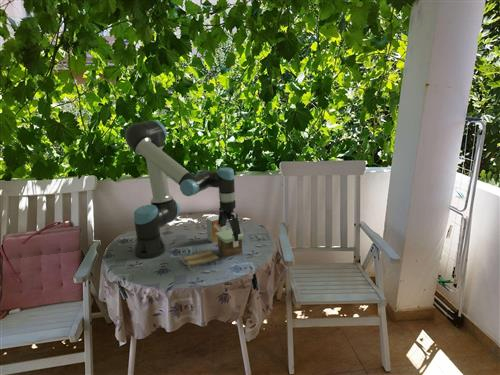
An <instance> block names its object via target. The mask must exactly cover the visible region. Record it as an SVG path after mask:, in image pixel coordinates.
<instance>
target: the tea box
mask: <svg viewBox="0 0 500 375" xmlns="http://www.w3.org/2000/svg"><path fill="white" fill-rule="evenodd" d="M238 243H239V246H238V247H233V241H232V242H229V243H225V242H223V241H222V240H220V239H219V238H218V242H217V245H218V246H217V247H218V253H219V254H220V255H222V256H223V257H225V258H230V257H234V256H237V255H241V254H242V253H243V239H239V240H238Z"/></svg>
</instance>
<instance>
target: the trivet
mask: <svg viewBox="0 0 500 375" xmlns="http://www.w3.org/2000/svg"><path fill="white" fill-rule="evenodd" d="M182 260H183V261H184V263H186V264H187V265H188V266H189V267H190V268H191V269H194V267H196V266H200V265H202V264H206V263H209V262H212V261H215V260H219V256H217V254H215V253H214V252H212V251H211V250H210V249H207V250H204V251H201V252H197V253H194V254H190V255H186V256H183V257H182Z"/></svg>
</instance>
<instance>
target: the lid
mask: <svg viewBox="0 0 500 375" xmlns="http://www.w3.org/2000/svg"><path fill="white" fill-rule="evenodd" d="M232 234H233V232H232V229H231V228H229V229H226V230H225V231H221V232H217V233H215V236H216V237H218V238H219V239H220V240H222V241H223V242H225V243H229V242H232V241H233V238H232ZM239 239H242V240H243V239H245V235H244V234H243V233H241V234H238V240H239Z"/></svg>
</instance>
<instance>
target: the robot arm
mask: <svg viewBox="0 0 500 375" xmlns="http://www.w3.org/2000/svg"><path fill="white" fill-rule="evenodd" d="M167 136H168V133H167V129H166V127H165V125H164V124H163V123H162V122H160V121H159V120H145V121H142V122H135V123H133V124H130V125H129V126H128V128H126V130H125V134H124V140H125V143H126V144H127V147H129V149H130V150H132V152H134V153H135V154H137V155H141V156H142V157H143V158H144V159H145V161H146V166H147V167H146V168H147V173H148V177H149V183H150V189H151V193H152V198H151V200H150V204H145V205H142V206H140V207H138V208H136V210H134V212H133V222H134V227H135V236H136V241H135V247H134V255H135V256H136V257H137V256H138V257H137V258H140V259H153V258H156V257H159V256H161V255H163V254H164V253H165V252H166V244H165V242H164V241H163V239H162V238H163V237H162V235H161V230H160V229H161V228H162V227H164V226H166V225H167V224H169V223H172V222H174V221H175V220H176V219H177V218H178V216H179V214H180V205H179V203H178V202H177V201H176V200H175V198H174V197H173V196H172V195H171V194H170V190H169V185H168V184H169V183H168V178H167V177H169V178H170V179H171V180H173V181H174V182H175V183H176V184H177V185H179V190H180V191H181V194H182V195H184V196H185V197H191V196H194V195H197V194H199V193H200V192H202V191H204V190H207V189H208V188H217V189H218V197H219V208H218V209H219V212H218V215H219V219H218V224H220V227H221V231H225V230H227V222H228V223H229V226H230V229H232V232H233V234H232V238H233V247H238V246H239V243H238V234H242V232H241V228H240V222H239V218H238V215H239V214H238V213H235V212H234V211H235V209H236V207H237V206H236V205H237V204H236V203H237V202H236V192H235V191H236V190H235V172H234V169H233V168H232V167H227V166H226V167H221V168H220V167H219V168H218V169H217V171H212V170H211V171H210V170H204V169H203V170H197V171H196V173H195V175H193V174H192V173H191V172H189V170H187V169H186V168H184V166H182V165H181V164H180V163H178V162H177V161H176V160H175V159H173V158H172V157H171V156H170V155H168V154H167V153H166V152H165V151H163V149H164V147H165V143H164V141H165V140H166V138H167Z"/></svg>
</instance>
